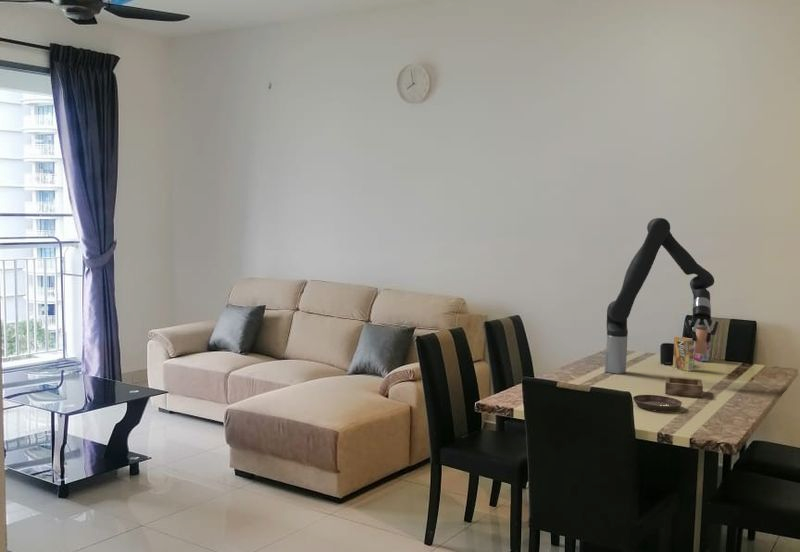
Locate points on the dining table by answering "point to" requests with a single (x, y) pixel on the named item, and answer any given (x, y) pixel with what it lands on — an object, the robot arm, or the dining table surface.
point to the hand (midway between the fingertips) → (701, 340)
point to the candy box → (683, 353)
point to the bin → (684, 387)
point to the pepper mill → (701, 339)
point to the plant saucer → (657, 402)
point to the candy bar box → (703, 356)
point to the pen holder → (666, 353)
